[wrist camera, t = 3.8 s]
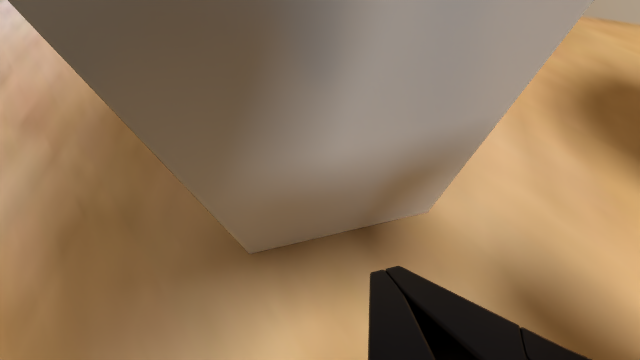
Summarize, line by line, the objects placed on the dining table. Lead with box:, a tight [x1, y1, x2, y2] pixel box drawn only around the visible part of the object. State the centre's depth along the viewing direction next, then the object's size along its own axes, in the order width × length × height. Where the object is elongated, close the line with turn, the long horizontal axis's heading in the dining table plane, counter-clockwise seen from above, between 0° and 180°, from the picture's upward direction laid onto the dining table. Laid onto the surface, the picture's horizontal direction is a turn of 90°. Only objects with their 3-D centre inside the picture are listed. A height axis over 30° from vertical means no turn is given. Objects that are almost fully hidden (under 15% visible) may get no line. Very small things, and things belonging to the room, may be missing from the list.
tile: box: [8, 0, 594, 254], centre depth 11 cm, size 3×10×14 cm, turn 103°
